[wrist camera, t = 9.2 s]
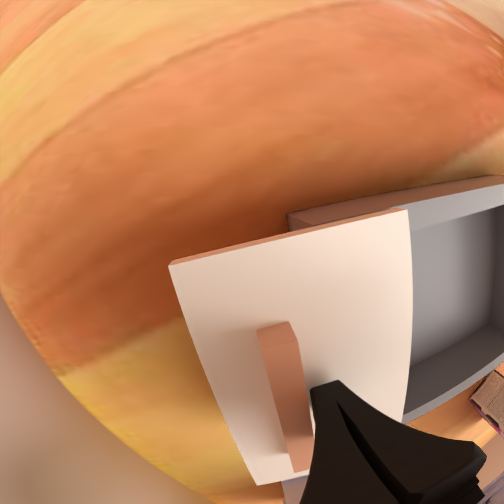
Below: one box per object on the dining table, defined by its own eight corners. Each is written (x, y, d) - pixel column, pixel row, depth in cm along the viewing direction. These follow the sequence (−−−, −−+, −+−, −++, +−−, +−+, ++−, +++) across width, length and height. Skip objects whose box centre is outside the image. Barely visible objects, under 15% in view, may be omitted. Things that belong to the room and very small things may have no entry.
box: (318, 403, 18) (338, 451, 14) (285, 213, 15) (312, 225, 10) (486, 325, 19) (520, 347, 14) (490, 174, 16) (535, 177, 11)
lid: (255, 476, 13) (259, 503, 11) (172, 260, 10) (158, 278, 8) (392, 434, 13) (406, 456, 11) (396, 207, 10) (429, 213, 8)
